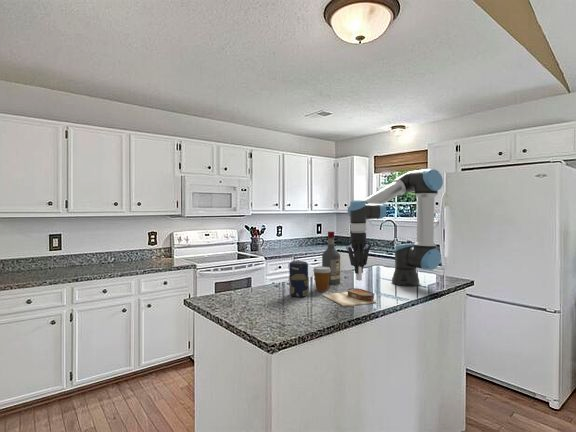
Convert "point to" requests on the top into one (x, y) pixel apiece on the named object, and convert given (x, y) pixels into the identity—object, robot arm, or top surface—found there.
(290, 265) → the canister
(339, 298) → the oak board
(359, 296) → the tin
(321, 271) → the disposable coffee cup
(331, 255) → the liquor
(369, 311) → the top surface
